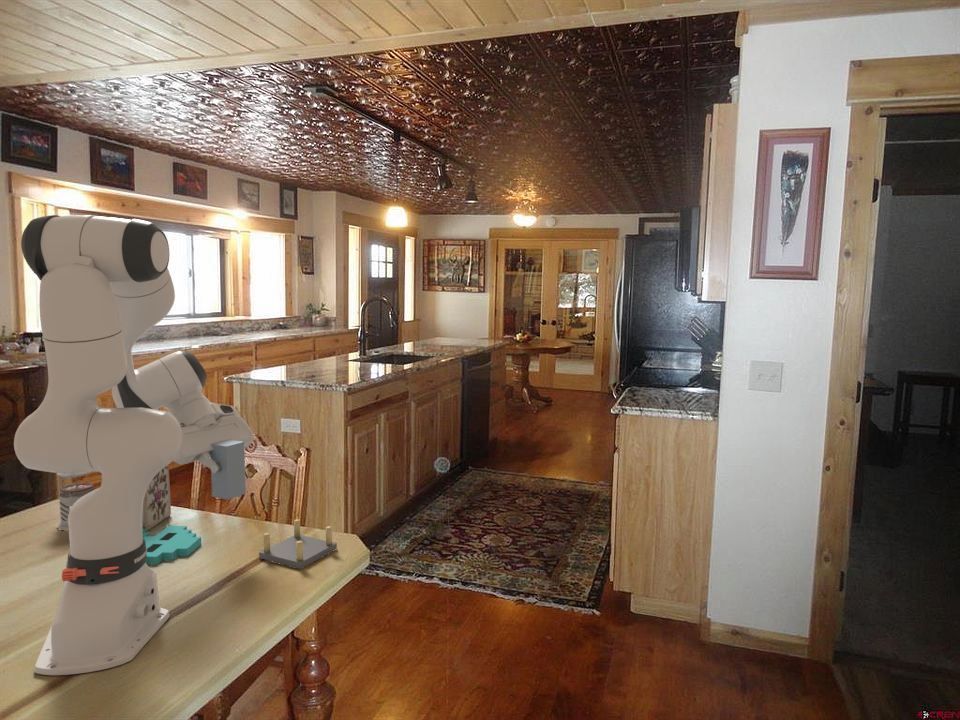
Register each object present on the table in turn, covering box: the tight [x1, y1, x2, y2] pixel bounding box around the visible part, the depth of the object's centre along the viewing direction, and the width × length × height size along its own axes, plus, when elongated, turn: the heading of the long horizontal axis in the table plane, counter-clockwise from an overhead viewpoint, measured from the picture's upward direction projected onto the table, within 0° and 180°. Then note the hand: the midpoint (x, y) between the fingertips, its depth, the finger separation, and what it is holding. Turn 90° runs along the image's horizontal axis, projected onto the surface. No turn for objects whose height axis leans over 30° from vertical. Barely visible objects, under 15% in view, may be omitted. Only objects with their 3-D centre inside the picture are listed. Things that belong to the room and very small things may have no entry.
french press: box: [56, 472, 95, 531], centre depth 159 cm, size 10×12×25 cm
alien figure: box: [142, 525, 202, 565], centre depth 144 cm, size 20×2×20 cm
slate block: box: [210, 440, 247, 501], centre depth 140 cm, size 5×5×12 cm
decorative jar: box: [100, 465, 172, 532], centre depth 159 cm, size 12×12×18 cm
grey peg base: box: [258, 518, 338, 570], centre depth 142 cm, size 12×12×6 cm
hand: (230, 467), depth 140 cm, fingers closed on slate block, 5 cm apart
